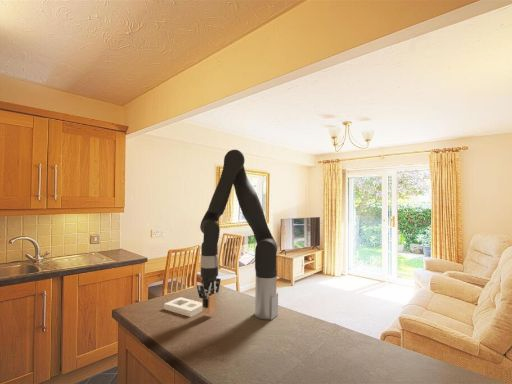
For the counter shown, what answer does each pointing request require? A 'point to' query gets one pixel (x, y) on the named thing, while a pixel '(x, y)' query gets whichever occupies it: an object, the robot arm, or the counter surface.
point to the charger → (210, 303)
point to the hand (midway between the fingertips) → (209, 305)
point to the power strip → (184, 306)
